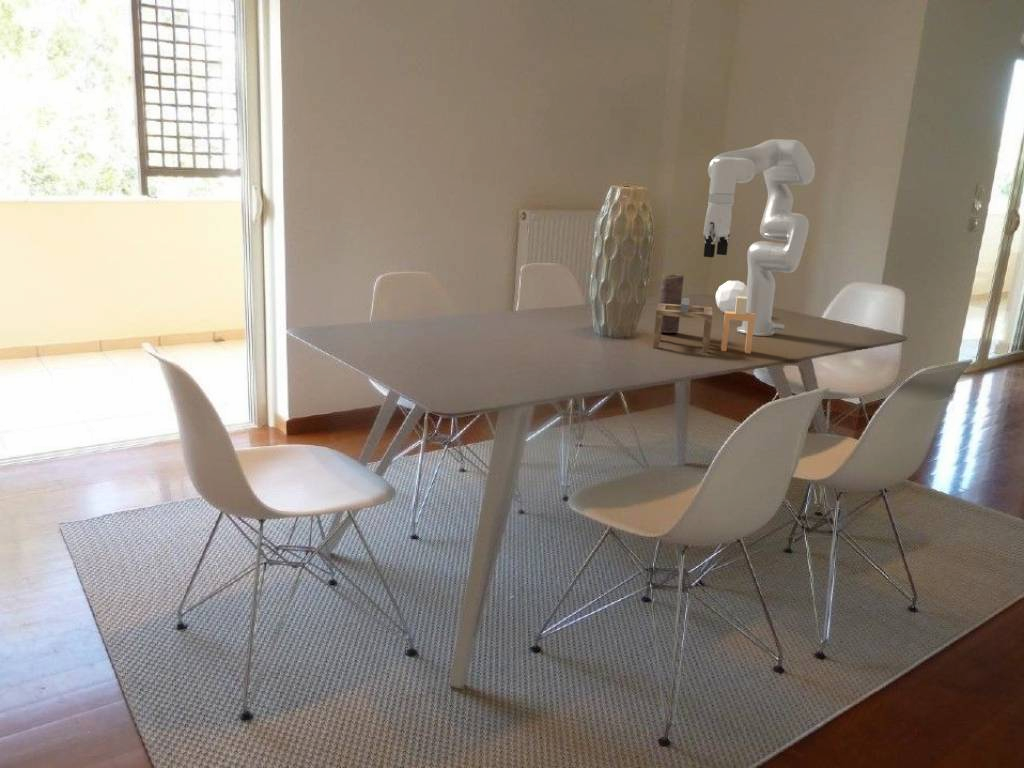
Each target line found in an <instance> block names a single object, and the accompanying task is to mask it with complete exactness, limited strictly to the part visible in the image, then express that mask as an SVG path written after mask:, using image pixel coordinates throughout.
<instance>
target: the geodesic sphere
mask: <svg viewBox="0 0 1024 768" xmlns="http://www.w3.org/2000/svg"><path fill="white" fill-rule="evenodd" d="M746 287H747V282H745V281H740V280H738V279H736V280H735V279H734V280H727V281H726V282H724V283H723V284H721V285H719V287H718V289H717V290H716V292H715V303H716V306H717V308H718V309H719V310H720V311H721V312H722V313H724V314H725V311H731V312H735V306H736V297H737V296H746Z"/></svg>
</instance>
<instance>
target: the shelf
mask: <svg viewBox="0 0 1024 768" xmlns="http://www.w3.org/2000/svg"><path fill="white" fill-rule="evenodd" d="M680 311H681V305H676V304H664V303H658V304H657V307H656V310H655V322H654V330H653V331H654V333H653V344H652V349H659V348H660V342H661V339H662V333H661V330H662V320H663V316H675V317H680V318H688V319H701V320H704V324H703V333H702V342H701V344H702V353H705V354H708V353H709V351H710V339H711V333H712V332H711V331H712V324H713V323H712V321H713V315H714V314H713V307H710V306H698V305H689V311H688V313H685V312H680Z"/></svg>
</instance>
